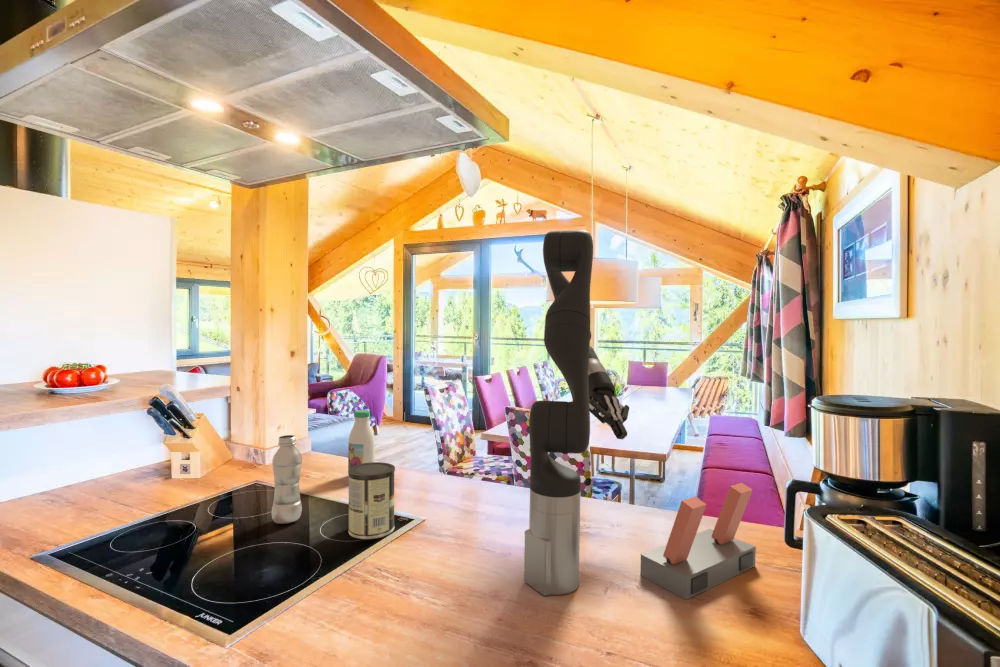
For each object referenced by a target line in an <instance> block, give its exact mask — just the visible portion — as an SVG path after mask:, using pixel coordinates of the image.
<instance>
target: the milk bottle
mask: <svg viewBox="0 0 1000 667" xmlns="http://www.w3.org/2000/svg"><path fill="white" fill-rule="evenodd" d="M370 416H371V413H370V410H367V409H358V410H355V411H354V412H353V419H354V423H353V425H352V426H353V427H352V429H351V430H350V433H349V436H348V449H347V450H348V452H347V453H348V458H347V459H348V462H347V469H349V468H351V467H353V466H355V465H358V464H363V463H371V462H375V461H376V460H375V459H376V455H375V454H376V453H375V452H376V444H375V440H376V439H375V434H374V431H373V428H372V427H371V423H370V418H371V417H370ZM347 476H348V477H349V474H348V473H347Z"/></svg>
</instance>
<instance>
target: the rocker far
mask: <svg viewBox="0 0 1000 667" xmlns="http://www.w3.org/2000/svg"><path fill="white" fill-rule="evenodd" d="M752 492H753V489H752V488H751V487H749V486H748V485H746V484H744V483H743V482H739V483H736V484H734V485H731V486H729V488H728V491H727V494H726V496H725V499H724V500H723V501H724V502H723V504H722V507H721V510H720V512H719V514H718V518H717V521H716V523H715V525H714V528H713V530H714V531H713V533H712V536H711V537H712V538H713V539H714V542H715V543H719V544H721V545H723V544H725V543H728V542H730V541H732V540H733V539H734V538H735V536H736V533H737V531H738V529H739V526H740V523H741V521H742V518H743V515H744V513H745V511H746V508H747V505H748V503H749V501H750V497H751V496H752Z"/></svg>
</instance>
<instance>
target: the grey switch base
mask: <svg viewBox="0 0 1000 667" xmlns="http://www.w3.org/2000/svg"><path fill="white" fill-rule="evenodd" d="M713 531H714V529H713V528H708V529H705V530H702V531H700V532H698V533H696V536H695V538H694V541H693V544H692V547H691V550H690V552H689V555H688V558H687V559H686V560H684V561H682V562H679V563H677V564H674V565H673V564H672V563H671V562H670V563H668V562H667V561H666V558H665V557H664V556H663V554H664V551H665V548H666V546H667V544H665V545H662V546H659V547H656V548H654V549H652V550H649V551H646V552H644V553H640V576H642V577H643V578H645V580H649V581H650V582H652V583H654V584H656V585H658V586H660V587H662V588H663V589H665V590H667V591H668V592H671V593H673V594H674V595H676V596H678V597H680V598H682V599H684V600H686V601H687V600H689V599H691V598H693V597H695V596H697V595H699V594H701V593H703V592H706V591H708V590H710V589H712V588H714V587H715V586H718V585H720V584H721V583H724V582H726V581H728V580H730V579H732V578H734V577H736V576H738V575H741V574H743V573H744V571H745V572H747V571H749V570H750V568H751V569H753V568H754V566H755V567H756V552H757V551H756V550H757V548H756V547H757V546H756V545H754V544H751V543H749V542H746V541H743V540H740V539H737V538H735V537H734V539H733V540H732V541H730V542H728V543H725V544H723V545H721V544H719V543H715V542H714V539H713V538H712V537H711V536H712V533H713ZM752 567H753V568H752ZM748 569H749V570H748ZM746 570H747V571H746ZM742 572H743V573H742Z"/></svg>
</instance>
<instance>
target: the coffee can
mask: <svg viewBox="0 0 1000 667" xmlns="http://www.w3.org/2000/svg"><path fill="white" fill-rule="evenodd" d="M347 469H348V468H347ZM395 471H396V467H395V465H393V464H391V463H388V462H383V461H382V462H381V461H380V462H379V461H377V462H371V463H363V464H358V465H355V466H353V467H351V468H349V469H348V470H347V475H348V474H349V476H348V531H347V532H348V534H349V536H350V537H352V538H354V539H359V540H374V539H379V538H383V537H386V536H389V535H390V534H392V533H393V532H394V531H395V528H396V527H395Z"/></svg>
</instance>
